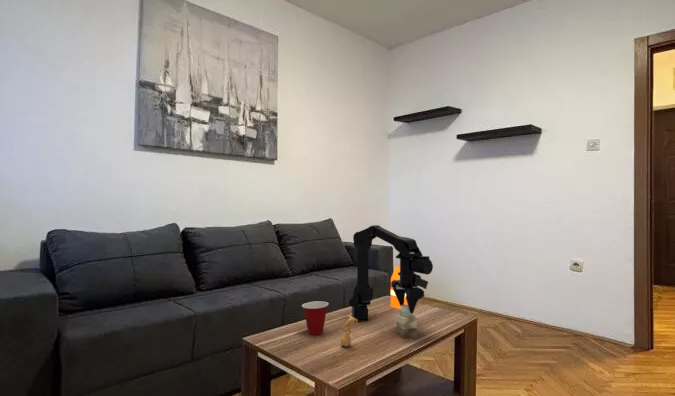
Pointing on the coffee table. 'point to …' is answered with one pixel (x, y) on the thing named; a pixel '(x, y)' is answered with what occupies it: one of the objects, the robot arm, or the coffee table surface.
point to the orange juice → (393, 297)
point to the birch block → (406, 322)
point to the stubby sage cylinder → (405, 311)
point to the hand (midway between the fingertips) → (406, 309)
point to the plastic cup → (315, 316)
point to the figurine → (346, 339)
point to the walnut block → (406, 332)
